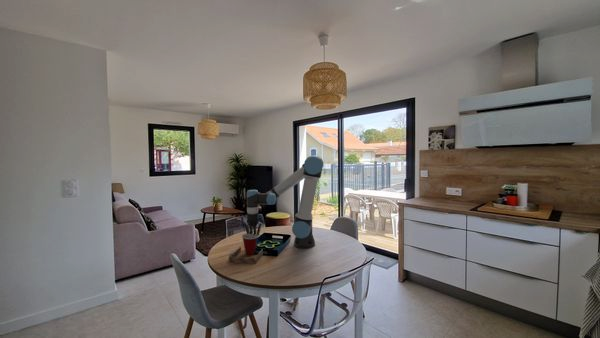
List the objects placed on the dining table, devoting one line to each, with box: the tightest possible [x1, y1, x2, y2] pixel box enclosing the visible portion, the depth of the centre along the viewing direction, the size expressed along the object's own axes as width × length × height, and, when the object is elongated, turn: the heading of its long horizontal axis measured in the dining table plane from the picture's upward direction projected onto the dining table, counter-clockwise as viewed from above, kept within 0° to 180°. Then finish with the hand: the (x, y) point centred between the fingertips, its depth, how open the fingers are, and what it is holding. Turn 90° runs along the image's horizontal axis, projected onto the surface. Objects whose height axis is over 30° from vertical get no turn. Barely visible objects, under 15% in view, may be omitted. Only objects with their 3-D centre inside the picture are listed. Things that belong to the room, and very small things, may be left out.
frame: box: [228, 246, 264, 264], centre depth 155 cm, size 17×16×3 cm
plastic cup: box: [241, 233, 259, 256], centre depth 162 cm, size 11×11×12 cm
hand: (253, 246), depth 168 cm, fingers closed
